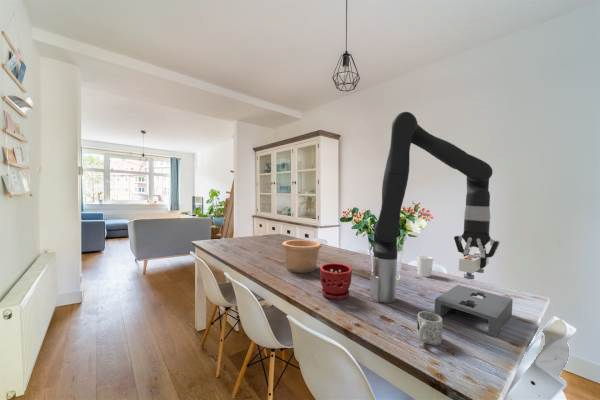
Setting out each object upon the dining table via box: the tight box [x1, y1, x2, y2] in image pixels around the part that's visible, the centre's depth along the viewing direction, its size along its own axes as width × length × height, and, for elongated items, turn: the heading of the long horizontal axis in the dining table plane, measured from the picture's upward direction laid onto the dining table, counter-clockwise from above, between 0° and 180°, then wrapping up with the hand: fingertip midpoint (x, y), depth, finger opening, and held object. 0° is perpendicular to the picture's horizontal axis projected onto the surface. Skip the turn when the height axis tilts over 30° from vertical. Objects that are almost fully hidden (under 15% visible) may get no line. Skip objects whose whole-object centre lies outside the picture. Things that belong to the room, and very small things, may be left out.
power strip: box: [458, 250, 490, 280], centre depth 92 cm, size 20×4×7 cm, turn 132°
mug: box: [416, 311, 443, 346], centre depth 76 cm, size 10×7×7 cm, turn 133°
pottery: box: [281, 239, 322, 274], centre depth 145 cm, size 22×22×14 cm
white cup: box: [416, 254, 434, 278], centre depth 140 cm, size 8×8×10 cm
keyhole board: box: [433, 284, 514, 338], centre depth 94 cm, size 24×18×6 cm
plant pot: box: [319, 262, 353, 300], centre depth 108 cm, size 13×13×12 cm
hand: (474, 266), depth 92 cm, fingers closed on power strip, 4 cm apart
